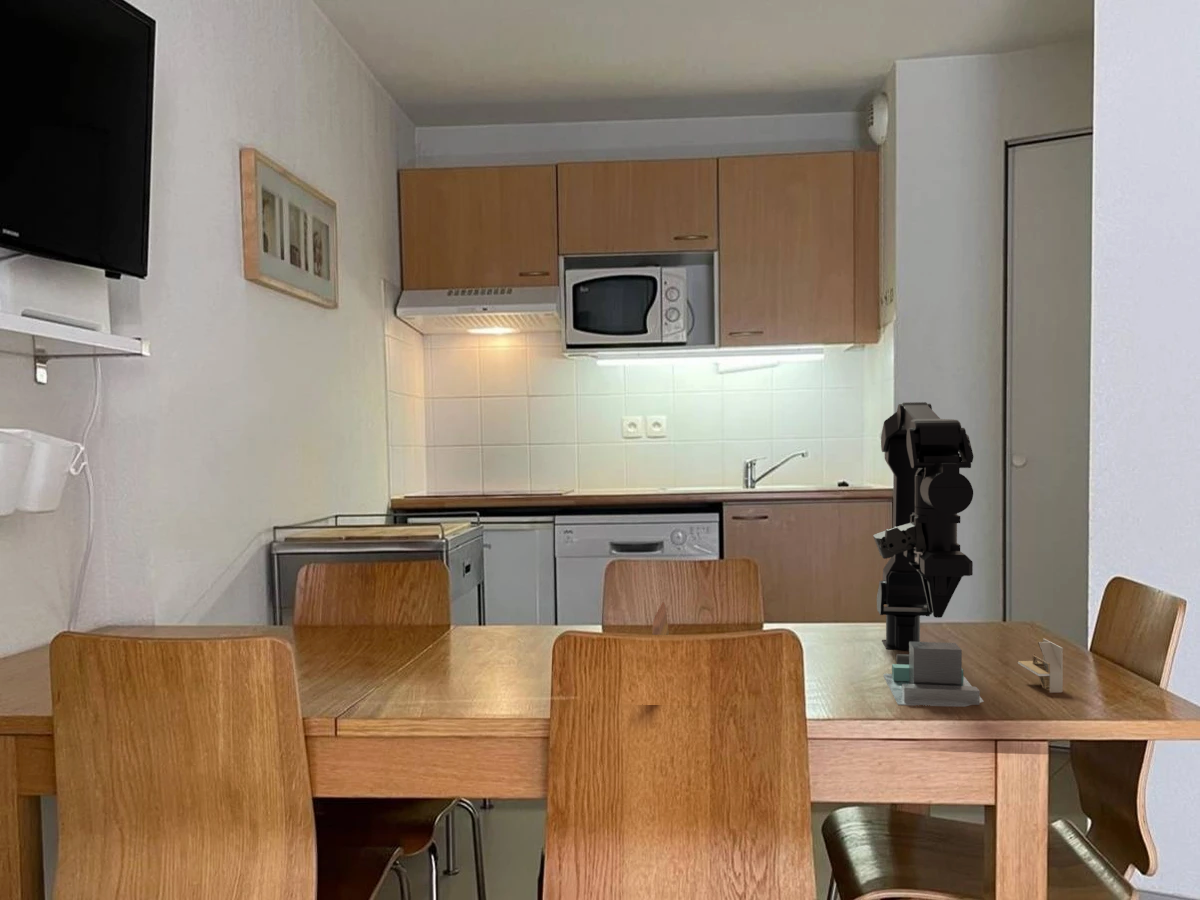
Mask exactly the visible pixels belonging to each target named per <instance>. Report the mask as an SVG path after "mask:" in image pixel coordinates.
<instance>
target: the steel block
mask: <svg viewBox="0 0 1200 900" xmlns="http://www.w3.org/2000/svg"><path fill="white" fill-rule="evenodd" d="M962 650H963V649H962V648H961V647H960V646H959V645H958V644H957V643H956V642H941V641H938V642H935V641H920V642H910V641H909V650H908V652H909V653H908V655H909V684H923V685H948V686H962V669H963V665H962V663H963V662H962V661H963V660H962V657H963V656H962V654H963V653H962V652H963V651H962Z"/></svg>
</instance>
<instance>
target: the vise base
mask: <svg viewBox="0 0 1200 900" xmlns="http://www.w3.org/2000/svg"><path fill="white" fill-rule="evenodd" d="M882 675H883V679H884V681H885V682H886V685H887V687H888V688H889V690H890V692H891V694H892V696H893V698H894V700H895V702H896V704H897V705H898V706H916V705H918V706H919V705H923V707H925V706H926V707H955V708H957V707H959V708H960V707H963V708H964V707H965V708H966V707H969V706H980V703H984V702H985V701H984V700H983V698H982V697H981V696H980V689H979V688H978V687H977V686H972V685H971V683H970V682H969V681H968V679H967V678H966V677H965V676H963V683H962V686H948V685H923V684H909V681H894V680H893V678H892V673H883V674H882ZM924 705H925V706H924ZM927 705H928V706H927ZM929 705H930V706H929ZM918 706H917V707H918Z"/></svg>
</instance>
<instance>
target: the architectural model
mask: <svg viewBox="0 0 1200 900" xmlns="http://www.w3.org/2000/svg"><path fill="white" fill-rule="evenodd" d="M1037 644H1038V646H1039V649H1040V652H1041V653H1042V659H1041V658H1040V657H1038V656H1036V655H1035V653H1033V654H1032V660H1017V664H1018V665H1019V666H1021V667H1023V668H1025V669H1027V671H1030V672H1031V673H1033V674H1034V675H1036V676H1037V678H1038V680H1039V682H1040V684H1041V688H1043V689H1044V690H1047V688H1049V693H1050V694H1051V693H1063V689H1064V688H1063V687H1064V686H1063V683H1064V681H1063V679H1064V677H1063V676H1064V674H1063V673H1064V672H1063V671H1064V670H1063V669H1064V667H1063V666H1064V664H1063V660H1064V659H1063V658H1064V657H1063V656H1064V654H1063V652H1064V651H1063V650H1064V647H1062V646H1060V645H1058V644H1056V643H1054V642H1052V641H1050V640H1048V639H1046V638H1042V641H1037Z"/></svg>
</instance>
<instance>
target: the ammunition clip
mask: <svg viewBox="0 0 1200 900" xmlns="http://www.w3.org/2000/svg"><path fill="white" fill-rule="evenodd" d="M669 633H670V632H669V626H668V612H667V608H666V605H665V602H662V603H661V604H660V607H659V608H658V609H657V611H656V613H655V615H654V618H653V622H652V633H651V636H652V635H669ZM669 636H670V635H669Z"/></svg>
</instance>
